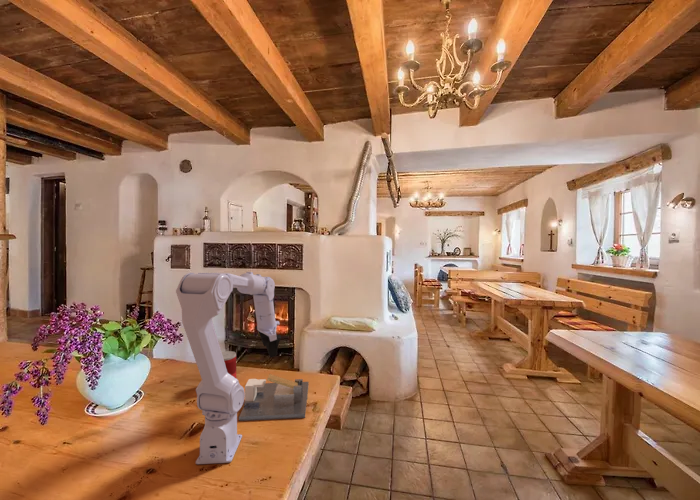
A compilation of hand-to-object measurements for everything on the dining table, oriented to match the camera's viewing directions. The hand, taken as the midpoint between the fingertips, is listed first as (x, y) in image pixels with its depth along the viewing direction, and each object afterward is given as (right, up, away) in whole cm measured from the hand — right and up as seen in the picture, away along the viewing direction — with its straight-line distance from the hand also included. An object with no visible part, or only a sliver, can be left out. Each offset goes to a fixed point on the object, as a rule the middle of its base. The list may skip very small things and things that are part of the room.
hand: (270, 350), depth 97 cm
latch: (-3, -14, -4) cm, 15 cm away
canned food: (-18, -15, +8) cm, 25 cm away
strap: (+5, -9, -3) cm, 11 cm away
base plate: (+3, -15, -2) cm, 16 cm away
